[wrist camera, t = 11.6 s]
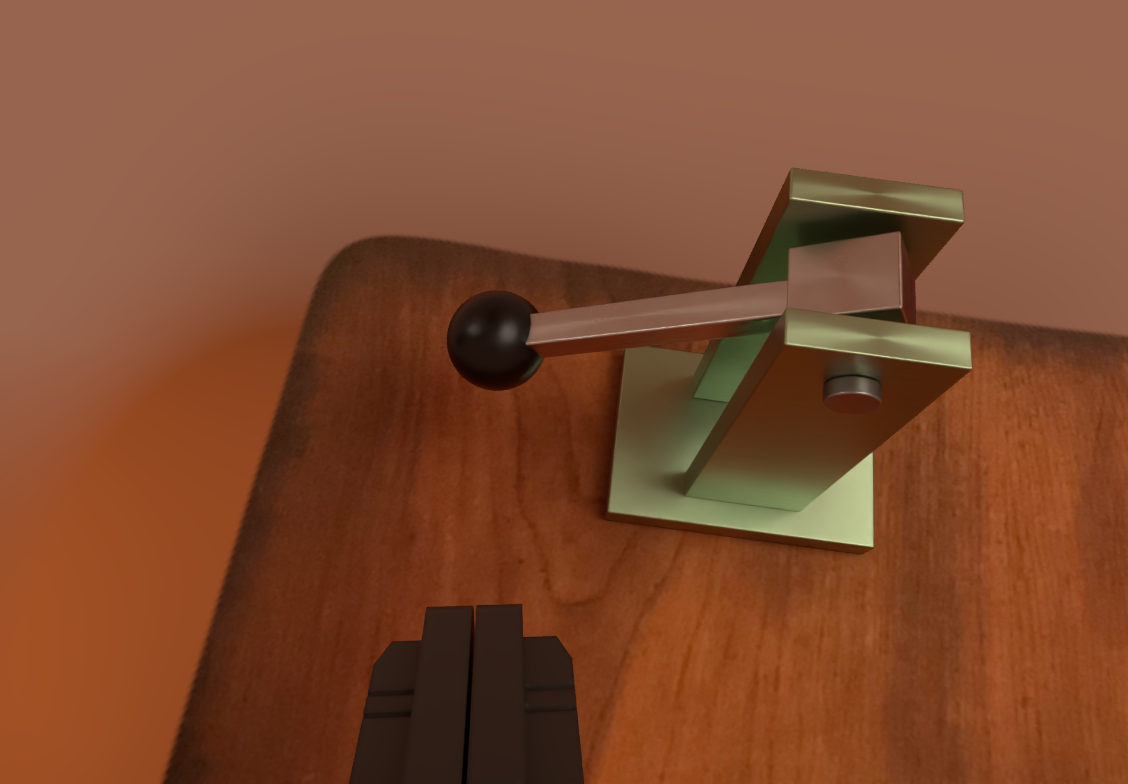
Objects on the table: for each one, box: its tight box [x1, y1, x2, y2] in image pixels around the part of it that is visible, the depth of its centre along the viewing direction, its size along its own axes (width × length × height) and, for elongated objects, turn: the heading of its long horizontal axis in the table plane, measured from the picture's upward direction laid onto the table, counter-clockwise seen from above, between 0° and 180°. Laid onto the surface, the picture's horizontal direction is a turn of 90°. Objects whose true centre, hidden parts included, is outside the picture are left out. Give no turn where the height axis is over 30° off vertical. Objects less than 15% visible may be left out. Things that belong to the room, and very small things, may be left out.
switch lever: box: [447, 231, 916, 391], centre depth 26 cm, size 14×3×3 cm
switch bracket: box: [605, 168, 972, 554], centre depth 28 cm, size 10×7×15 cm
